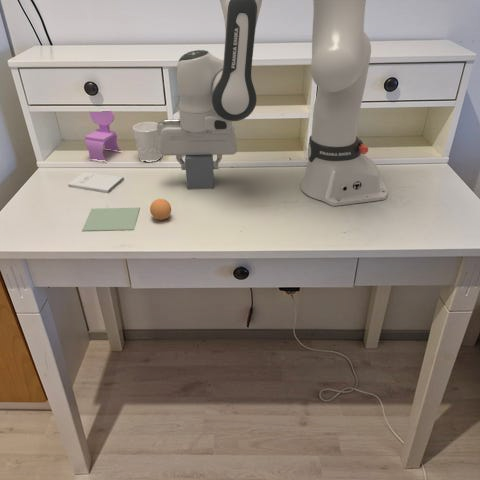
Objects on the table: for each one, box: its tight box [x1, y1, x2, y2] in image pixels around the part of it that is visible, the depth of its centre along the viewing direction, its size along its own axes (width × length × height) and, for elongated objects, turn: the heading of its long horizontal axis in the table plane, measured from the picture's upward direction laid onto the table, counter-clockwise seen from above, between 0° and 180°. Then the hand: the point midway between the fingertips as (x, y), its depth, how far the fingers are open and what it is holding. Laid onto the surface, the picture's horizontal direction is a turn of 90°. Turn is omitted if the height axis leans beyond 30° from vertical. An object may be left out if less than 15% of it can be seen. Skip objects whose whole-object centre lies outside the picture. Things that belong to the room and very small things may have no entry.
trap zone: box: [81, 207, 141, 232], centre depth 113 cm, size 12×10×1 cm
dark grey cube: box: [184, 155, 215, 190], centre depth 126 cm, size 7×7×9 cm
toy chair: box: [84, 110, 122, 161], centre depth 139 cm, size 8×9×15 cm
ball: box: [149, 198, 172, 221], centre depth 112 cm, size 5×5×5 cm
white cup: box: [132, 121, 163, 161], centre depth 139 cm, size 8×8×10 cm
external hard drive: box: [67, 171, 125, 194], centre depth 129 cm, size 2×8×12 cm
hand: (200, 168), depth 126 cm, fingers closed on dark grey cube, 7 cm apart
